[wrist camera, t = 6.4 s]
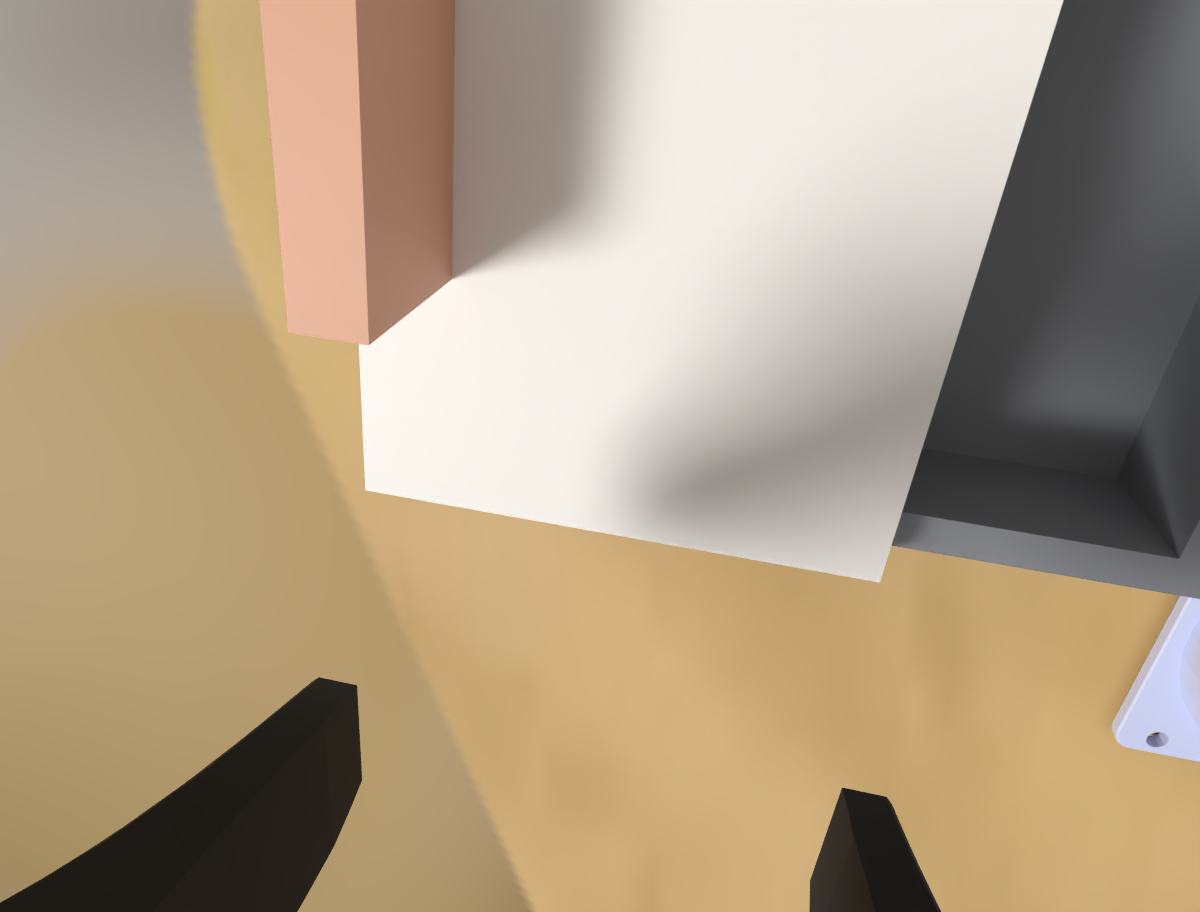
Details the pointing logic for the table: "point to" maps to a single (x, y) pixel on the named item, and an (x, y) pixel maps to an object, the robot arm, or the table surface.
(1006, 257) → the carton
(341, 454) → the table surface
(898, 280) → the carton lid
